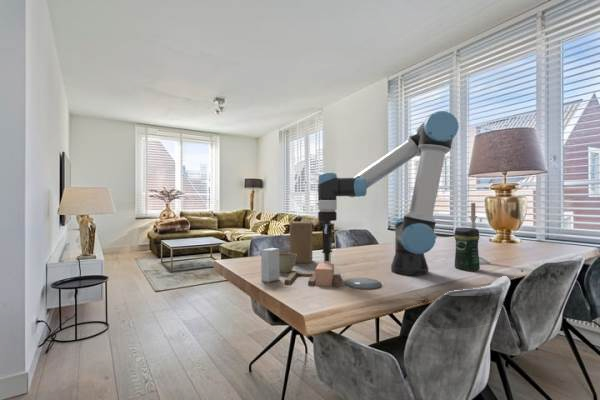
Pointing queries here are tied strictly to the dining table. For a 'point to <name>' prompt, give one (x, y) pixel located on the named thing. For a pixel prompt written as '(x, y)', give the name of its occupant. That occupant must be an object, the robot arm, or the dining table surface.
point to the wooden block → (301, 241)
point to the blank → (324, 274)
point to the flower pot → (286, 261)
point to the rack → (312, 279)
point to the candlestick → (473, 218)
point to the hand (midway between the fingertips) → (327, 268)
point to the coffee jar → (467, 249)
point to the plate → (362, 283)
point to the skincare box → (269, 264)
